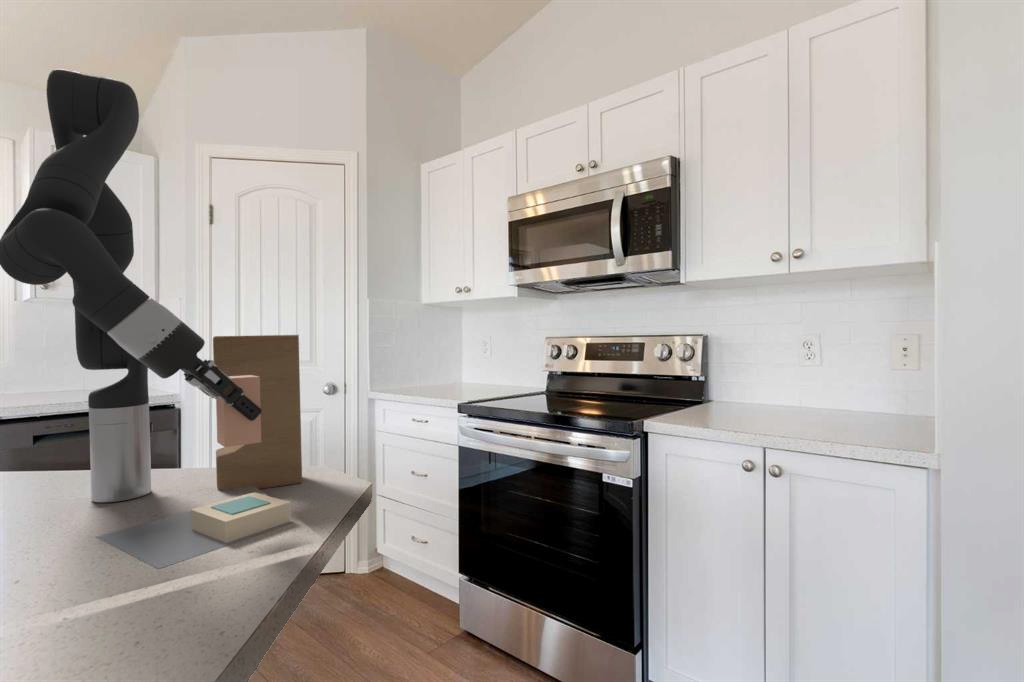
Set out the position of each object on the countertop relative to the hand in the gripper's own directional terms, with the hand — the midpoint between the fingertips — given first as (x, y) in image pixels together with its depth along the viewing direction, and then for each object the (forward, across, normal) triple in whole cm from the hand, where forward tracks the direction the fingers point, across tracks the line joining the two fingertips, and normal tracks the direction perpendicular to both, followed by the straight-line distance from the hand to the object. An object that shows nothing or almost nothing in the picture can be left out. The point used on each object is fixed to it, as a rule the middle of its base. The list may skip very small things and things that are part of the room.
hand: (251, 413), depth 83 cm
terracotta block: (+2, 0, +4) cm, 5 cm away
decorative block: (+18, +26, +7) cm, 32 cm away
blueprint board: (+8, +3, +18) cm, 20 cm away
